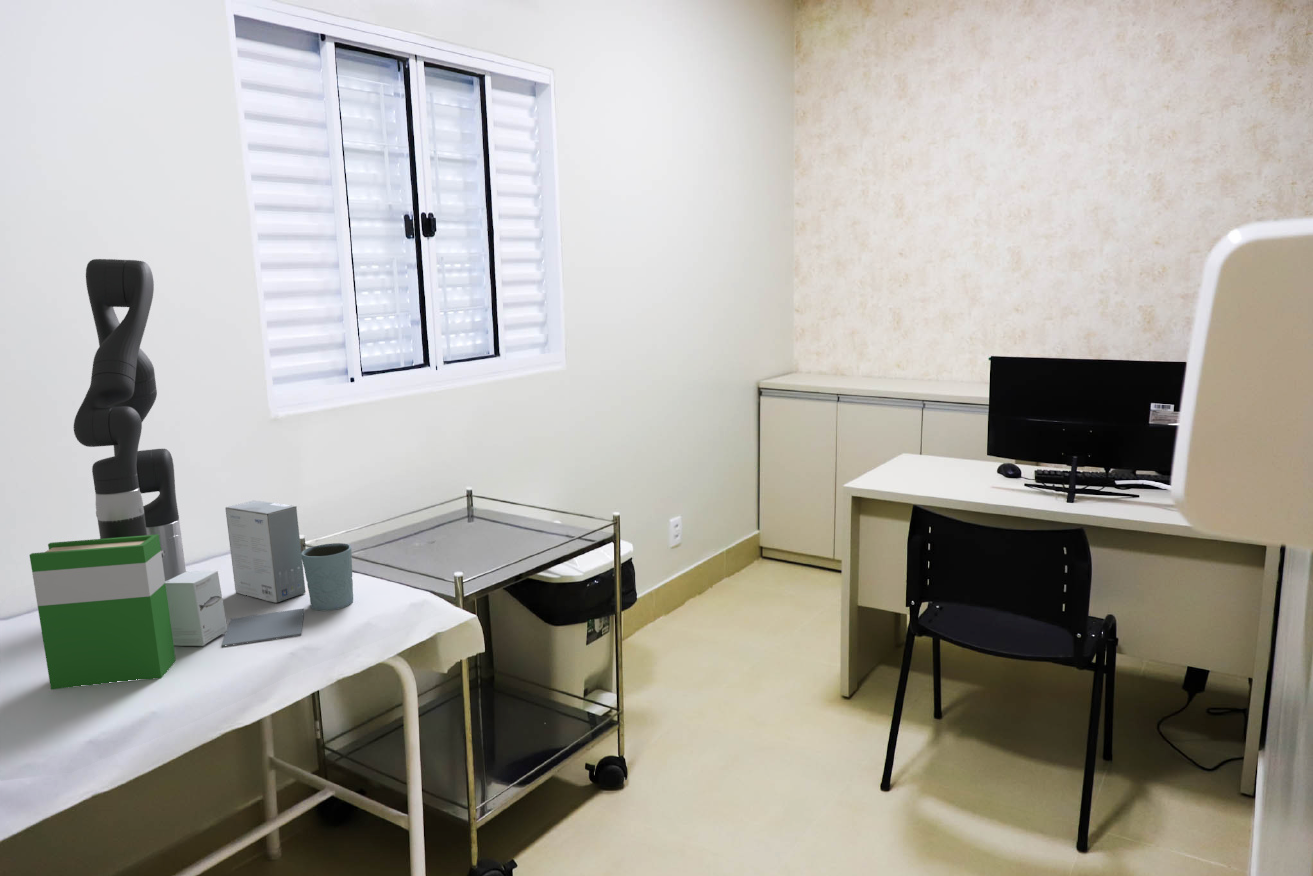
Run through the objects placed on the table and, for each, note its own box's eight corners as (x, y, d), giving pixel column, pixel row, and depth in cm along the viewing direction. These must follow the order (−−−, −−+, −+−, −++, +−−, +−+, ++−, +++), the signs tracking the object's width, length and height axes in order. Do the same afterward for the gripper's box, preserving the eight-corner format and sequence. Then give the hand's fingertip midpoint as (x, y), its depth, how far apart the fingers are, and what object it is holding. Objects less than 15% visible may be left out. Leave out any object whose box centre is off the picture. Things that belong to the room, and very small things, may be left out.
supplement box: (204, 646, 171) (192, 583, 169) (170, 646, 173) (158, 583, 170) (229, 631, 178) (218, 569, 176) (196, 630, 180) (185, 570, 178)
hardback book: (50, 689, 155) (29, 554, 151) (70, 671, 163) (50, 542, 159) (161, 678, 158) (143, 545, 154) (175, 661, 166) (158, 534, 162)
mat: (230, 620, 185) (230, 618, 185) (303, 610, 190) (303, 608, 190) (222, 647, 171) (221, 645, 171) (301, 635, 176) (300, 633, 176)
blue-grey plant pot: (328, 614, 187) (323, 558, 185) (296, 607, 192) (290, 553, 190) (366, 599, 195) (361, 545, 193) (334, 592, 200) (329, 540, 198)
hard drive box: (307, 593, 200) (298, 506, 197) (276, 604, 194) (266, 514, 191) (264, 583, 209) (254, 499, 205) (233, 593, 202) (223, 506, 199)
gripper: (164, 505, 173) (175, 592, 176) (85, 513, 169) (98, 602, 172) (156, 514, 166) (169, 604, 169) (74, 523, 162) (88, 615, 165)
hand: (133, 603), depth 171 cm, fingers closed
